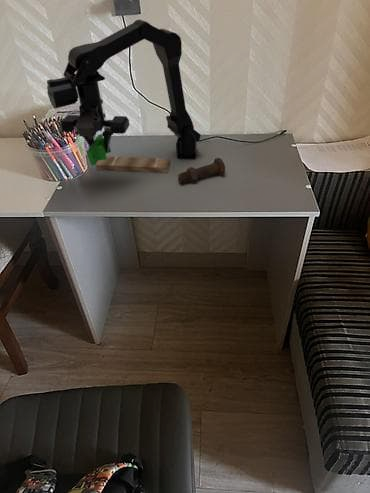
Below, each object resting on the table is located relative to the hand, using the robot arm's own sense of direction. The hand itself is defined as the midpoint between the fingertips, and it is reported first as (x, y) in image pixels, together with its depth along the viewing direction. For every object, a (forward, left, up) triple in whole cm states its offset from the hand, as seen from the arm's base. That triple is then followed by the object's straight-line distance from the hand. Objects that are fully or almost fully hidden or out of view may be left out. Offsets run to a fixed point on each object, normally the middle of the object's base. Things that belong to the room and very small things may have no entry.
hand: (100, 151), depth 113 cm
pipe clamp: (0, 0, -2) cm, 2 cm away
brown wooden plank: (-6, -10, -11) cm, 16 cm away
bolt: (-30, -5, -12) cm, 32 cm away
